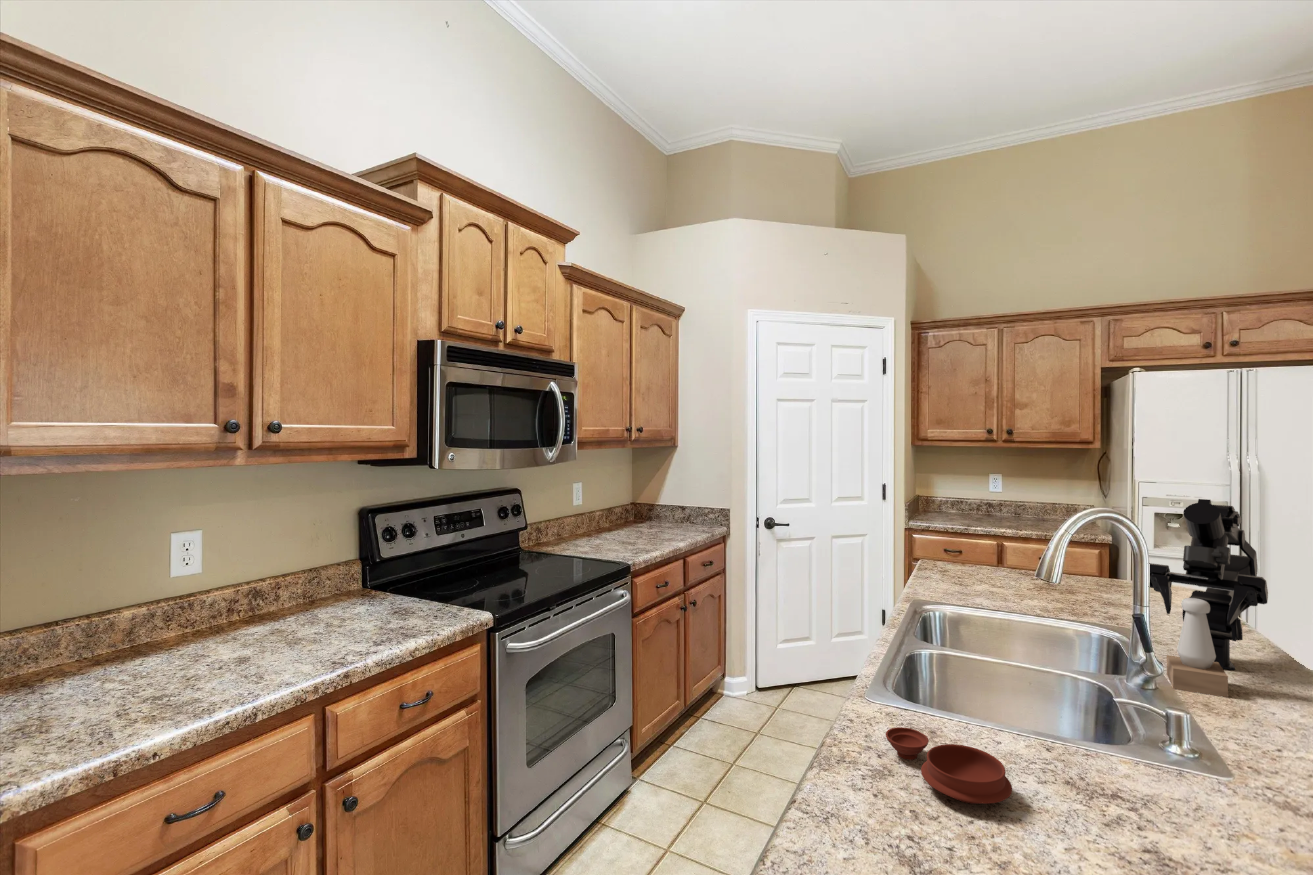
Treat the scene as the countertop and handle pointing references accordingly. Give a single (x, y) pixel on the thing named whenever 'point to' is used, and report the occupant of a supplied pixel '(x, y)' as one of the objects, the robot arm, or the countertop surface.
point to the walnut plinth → (1197, 678)
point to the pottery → (955, 768)
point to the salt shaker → (1196, 635)
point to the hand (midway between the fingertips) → (1197, 617)
